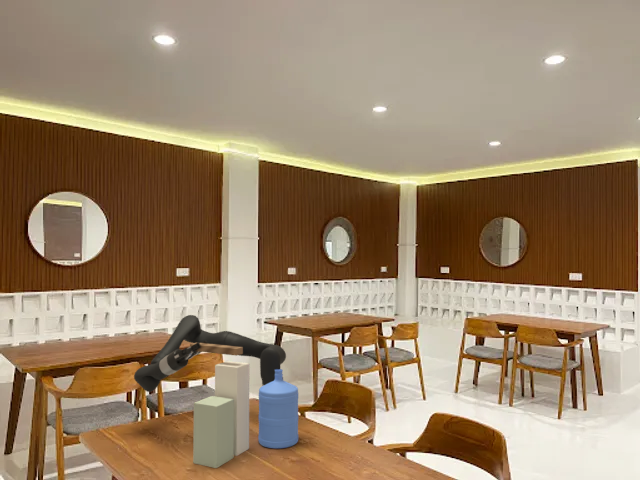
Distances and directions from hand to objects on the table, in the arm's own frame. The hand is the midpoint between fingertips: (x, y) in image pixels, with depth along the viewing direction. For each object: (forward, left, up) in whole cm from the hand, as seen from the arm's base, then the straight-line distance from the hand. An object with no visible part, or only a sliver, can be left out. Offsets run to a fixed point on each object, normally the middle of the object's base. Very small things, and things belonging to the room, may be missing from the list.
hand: (203, 343), depth 199 cm
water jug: (-28, +10, -39) cm, 49 cm away
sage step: (0, +18, -39) cm, 42 cm away
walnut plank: (-4, +5, -3) cm, 7 cm away
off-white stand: (-9, +10, -39) cm, 41 cm away
